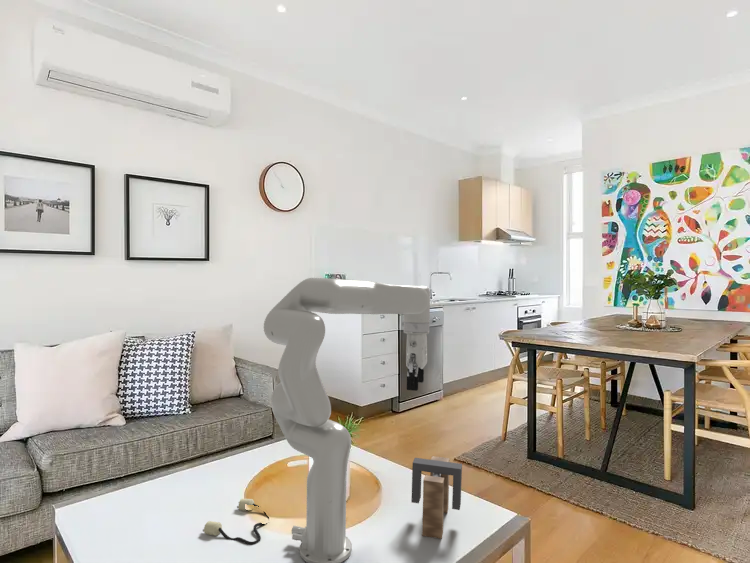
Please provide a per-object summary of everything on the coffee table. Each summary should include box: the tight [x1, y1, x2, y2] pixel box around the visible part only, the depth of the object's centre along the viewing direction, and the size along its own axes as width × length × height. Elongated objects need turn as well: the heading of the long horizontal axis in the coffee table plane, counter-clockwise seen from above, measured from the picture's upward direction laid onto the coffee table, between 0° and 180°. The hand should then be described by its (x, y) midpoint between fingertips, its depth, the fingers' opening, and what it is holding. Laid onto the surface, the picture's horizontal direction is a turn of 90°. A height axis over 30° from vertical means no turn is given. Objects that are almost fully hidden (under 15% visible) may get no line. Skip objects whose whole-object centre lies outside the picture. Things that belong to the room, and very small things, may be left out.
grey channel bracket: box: [410, 457, 463, 511], centre depth 127 cm, size 13×4×11 cm, turn 75°
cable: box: [202, 498, 263, 546], centre depth 124 cm, size 16×16×4 cm
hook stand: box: [421, 455, 451, 540], centre depth 127 cm, size 5×16×14 cm, turn 165°
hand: (415, 385), depth 137 cm, fingers open, 9 cm apart
